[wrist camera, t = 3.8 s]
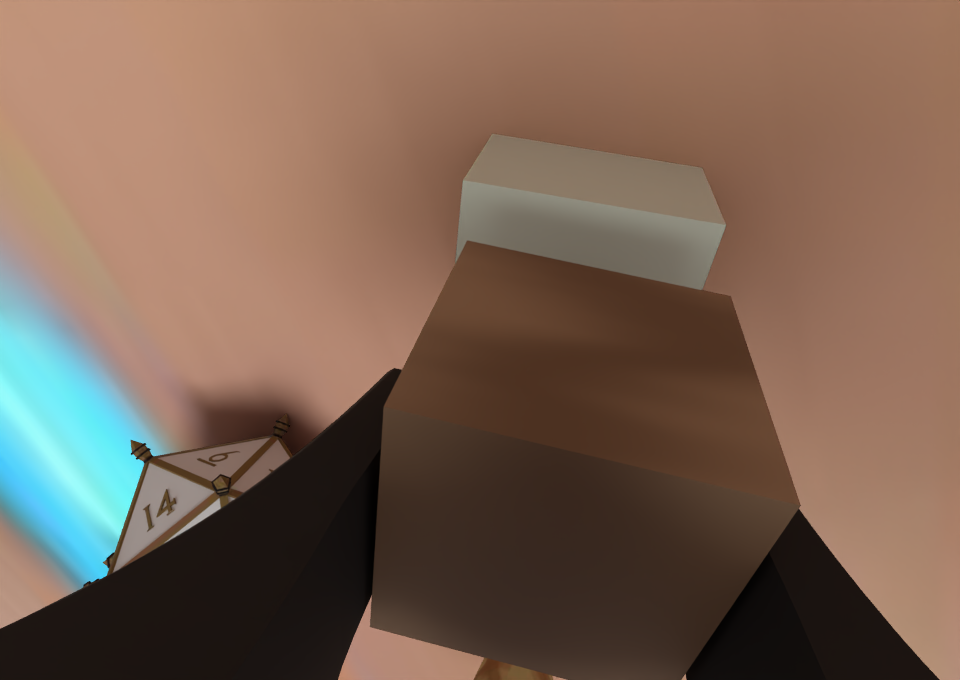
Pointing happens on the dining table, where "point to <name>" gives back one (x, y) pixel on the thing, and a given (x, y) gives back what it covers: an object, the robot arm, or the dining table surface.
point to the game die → (191, 489)
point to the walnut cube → (574, 471)
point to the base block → (592, 209)
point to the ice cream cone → (507, 672)
